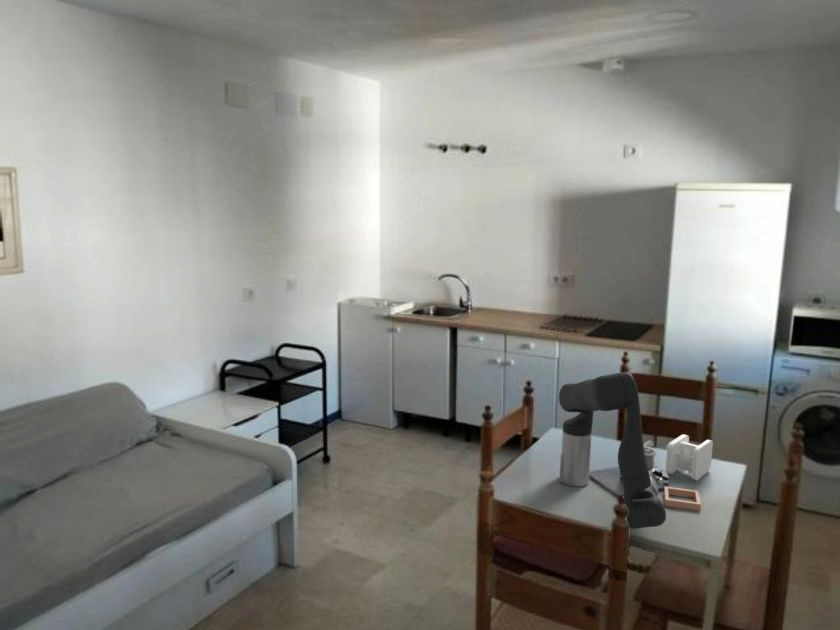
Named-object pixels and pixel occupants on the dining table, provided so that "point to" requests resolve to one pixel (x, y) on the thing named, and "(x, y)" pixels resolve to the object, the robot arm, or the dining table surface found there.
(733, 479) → the dining table surface
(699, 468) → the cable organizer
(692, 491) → the tie collar
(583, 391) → the robot arm
